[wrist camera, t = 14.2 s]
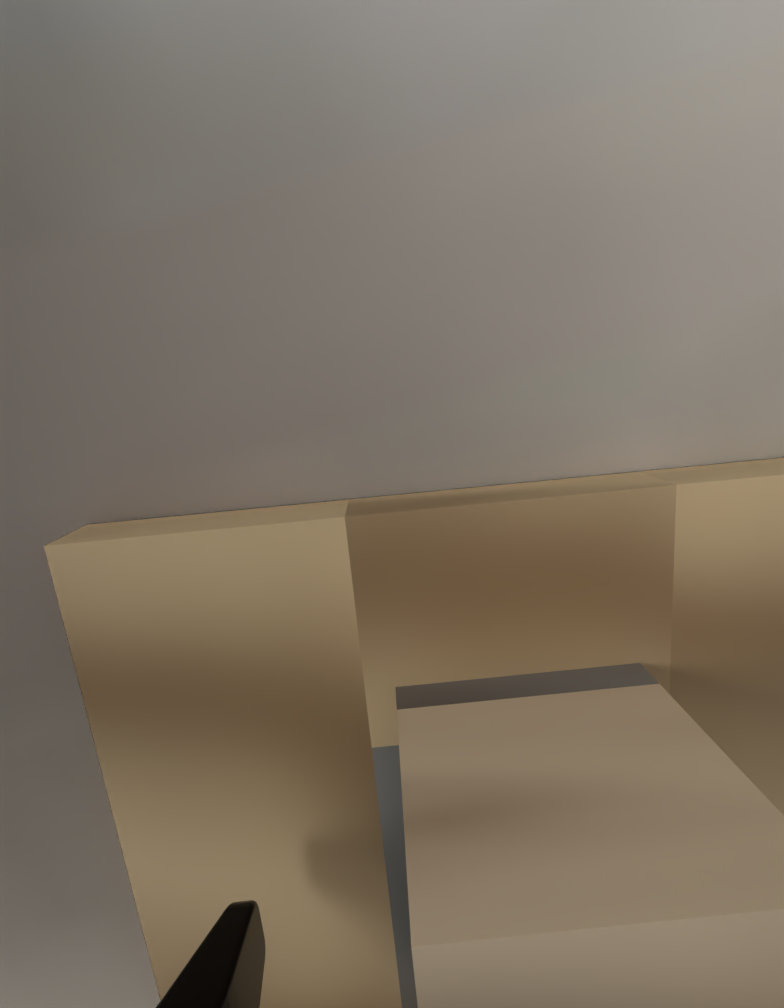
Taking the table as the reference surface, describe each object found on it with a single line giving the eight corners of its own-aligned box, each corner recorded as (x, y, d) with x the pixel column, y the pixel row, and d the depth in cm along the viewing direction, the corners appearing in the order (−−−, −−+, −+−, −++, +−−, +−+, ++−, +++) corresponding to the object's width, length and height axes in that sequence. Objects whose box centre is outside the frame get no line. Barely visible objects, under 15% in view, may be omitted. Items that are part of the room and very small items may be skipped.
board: (790, 1258, 14) (828, 1338, 13) (272, 1313, 14) (263, 1398, 13) (895, 446, 9) (972, 456, 8) (87, 524, 9) (43, 545, 8)
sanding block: (634, 948, 10) (804, 1319, 6) (424, 970, 10) (455, 1355, 6) (640, 663, 8) (864, 902, 5) (395, 687, 8) (411, 947, 5)
